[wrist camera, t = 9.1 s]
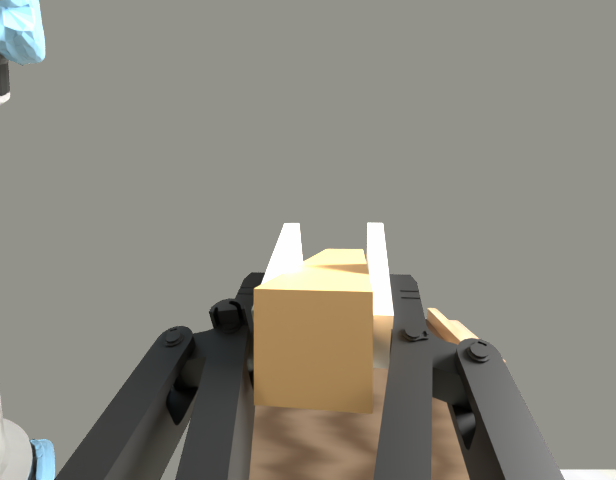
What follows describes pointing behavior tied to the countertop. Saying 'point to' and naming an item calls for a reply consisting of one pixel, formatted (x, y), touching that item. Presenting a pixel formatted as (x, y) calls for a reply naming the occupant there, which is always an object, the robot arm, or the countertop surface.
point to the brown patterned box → (349, 433)
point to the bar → (316, 335)
